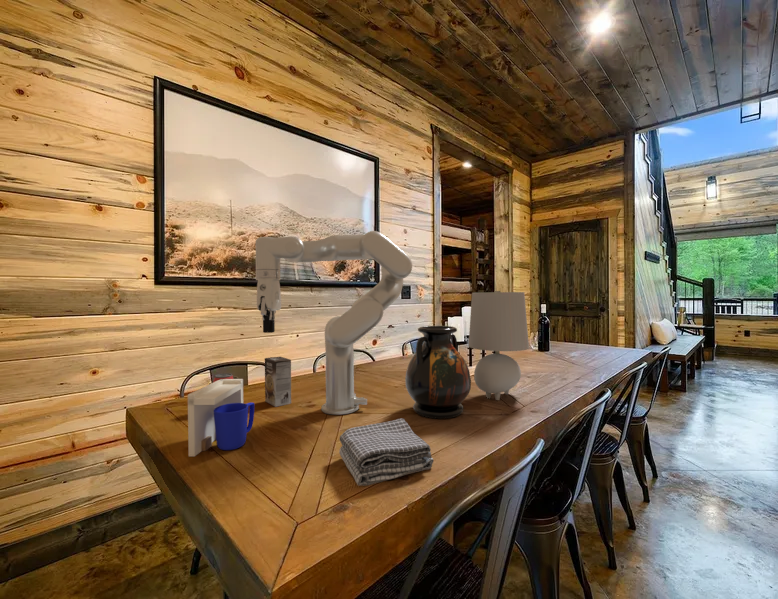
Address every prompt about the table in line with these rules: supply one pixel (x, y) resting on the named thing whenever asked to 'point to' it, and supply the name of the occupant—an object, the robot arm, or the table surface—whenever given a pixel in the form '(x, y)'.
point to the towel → (383, 452)
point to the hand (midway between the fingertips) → (268, 332)
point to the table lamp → (498, 338)
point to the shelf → (209, 411)
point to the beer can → (223, 376)
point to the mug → (232, 424)
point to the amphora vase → (438, 374)
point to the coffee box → (278, 381)
